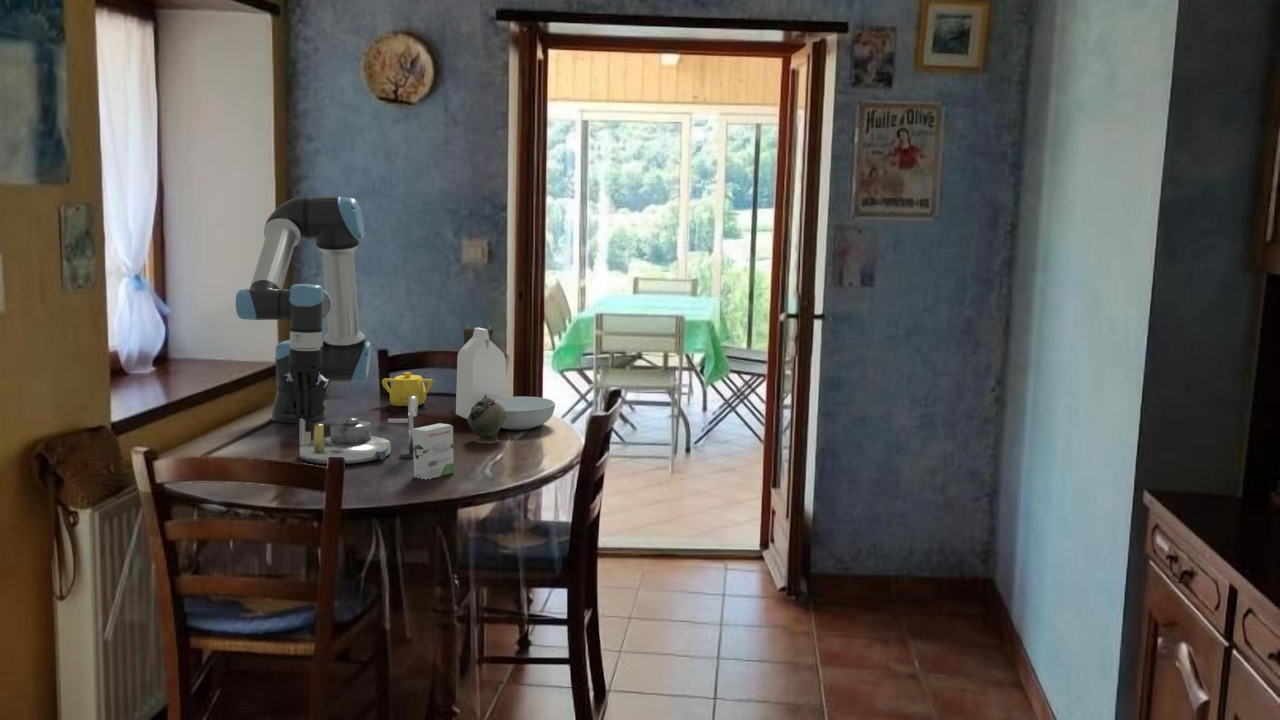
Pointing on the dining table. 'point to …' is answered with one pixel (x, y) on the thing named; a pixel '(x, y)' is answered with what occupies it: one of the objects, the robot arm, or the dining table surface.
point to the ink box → (433, 451)
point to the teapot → (407, 388)
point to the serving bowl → (526, 412)
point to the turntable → (343, 449)
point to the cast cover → (350, 431)
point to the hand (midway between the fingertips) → (305, 444)
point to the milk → (479, 372)
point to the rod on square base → (411, 412)
